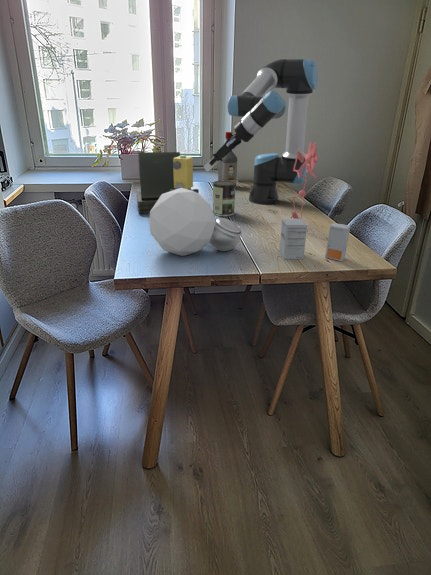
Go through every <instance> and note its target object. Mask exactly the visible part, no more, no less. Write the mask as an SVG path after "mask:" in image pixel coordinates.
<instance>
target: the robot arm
mask: <svg viewBox="0 0 431 575" xmlns="http://www.w3.org/2000/svg"><path fill="white" fill-rule="evenodd" d="M317 66H318V65H317V63H316V61H315V60H313V59H307V58H304V59H303V58H301V59H300V58H299V59H297V58H296V59H295V58H291V59H290V58H289V59H288V58H287V59H286V58H283V59H277V60H274V61H271V62H269V63H268V64H266V65H264V66H263V67H262V68H260V70H258V72H257V73H256V77H255V79H253V80H252V82H251V83H250V84H249V85H248V86H246V88H245V89H244V90H243V92H241V94H240V95H237V94H235V95H230V96H229V98H228V101H227V112H228V115H229V116H232V117H239V118H241V120H239V122H238V123H237V124H235V125H234V127H233V129H234V132H235V134H232V136H231V137H230V138H229V140H227V141H226V140H225V143H224V144H223V145H222V146H221V147H220V148H219V149H218V150H217V151H216V152H215V153H213V154H212V158H210V160H208V161H207V162H206V164H204V165H203V168H204V170H205V171H206V172H207V173H209V172H211V170H212V169H214V167H215V166H216V165H217V164H219V161H223V160H222V158H224V157H225V156H226V155H227V154H228V153H229V152H230V151H231V150H232V151H233V150H234V149H235V148H237V146H238V145H241V143H242V142H244V143H248V142H250V141H251V140H252V139H253V138H254V137H255V135H257V133H259V132H260V133H261V132H262V129H263V128H264V127H265V126H266V124H268V123H269V122H270V121H271V120H273V119H276V120H277V119H280V118H282V117H283V116H284V115H286V111H287V109H288V112H287V125H286V126H287V127H286V140H285V150H284V152H282V155H281V156H280V154H279V153H275V152H274V153H273V152H272V153H270V152H269V153H264V154H263V153H262V154H258V155H256V156H255V157H254V164H253V183H252V184H253V185H252V187H251V190H250V192H249V196H248V201H250V203H254V204H260V205H261V204H262V205H273V204H277V203H278V202H279V193H278V188H277V182H279V183H280V182H281V183H288V184H293V185H294V184H300V185H301V184H302V183H305V181H306V179H305V178H304V177H303V176H302V175H304V176H305V177H306V178H307V173H306V167H304V170H303V172H302V175H301V177H300V179H299V177H298V173H297V172H296V171H293V170H294V165H295V161H296V157H297V152H298V151H300V153H301V154H302V155H303V157H304V162H305V155H306V154H307V153H305V152H304V151H305V149H304V148H305V138H306V128H307V117H308V107H309V106H308V105H309V97H310V96H311V95H313V91H315V90H316V89H317V87H318V81H319V80H318V79H319V77H318V76H319V74H318V73H319V72H318V67H317ZM274 89H285V90H286V92H285V93H286V95H287V96H288V98H289V99H288V106H287V103H286V101H285V100H284V98H282V96H281V95H280V94H279V93H278V92H277V91H276V90H274ZM287 107H288V108H287ZM304 162H303V163H304ZM303 163H301V162H300V160H299V159H298V158H297V162H296V166H295V170H299V169H300V167H301V166H302V164H303ZM306 164H307V162H306ZM303 166H304V165H303ZM302 169H303V167H302V168H301V169H300V171H299V172H300V173H301V171H302ZM299 176H300V174H299Z"/></svg>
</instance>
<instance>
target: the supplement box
mask: <svg viewBox="0 0 431 575" xmlns="http://www.w3.org/2000/svg"><path fill="white" fill-rule="evenodd" d="M281 219H282V220H281V227H280V228H281V229H280V237H279V238H280V239H279V250H278V252H279V254H280V255H281V257H282V256H283V257H282V259H284V260H303V259H304V258H305V257H304V256H305V255H304V254H305V247H306V240H307V234H308V232H307V230H308V224H307V223H306V222H305V220H303V219H302V218H301V219H294V218H292V219H290V218H281Z"/></svg>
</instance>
